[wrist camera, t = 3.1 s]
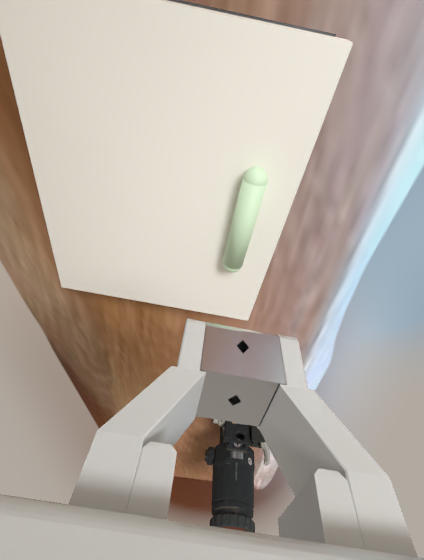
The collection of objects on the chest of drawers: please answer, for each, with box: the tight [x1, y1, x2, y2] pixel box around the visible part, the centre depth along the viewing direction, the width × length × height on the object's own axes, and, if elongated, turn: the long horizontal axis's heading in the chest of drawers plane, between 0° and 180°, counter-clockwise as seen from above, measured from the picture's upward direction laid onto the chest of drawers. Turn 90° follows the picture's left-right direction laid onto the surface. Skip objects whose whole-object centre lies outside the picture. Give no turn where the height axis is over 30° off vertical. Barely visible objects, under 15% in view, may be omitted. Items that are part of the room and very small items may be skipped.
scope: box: [205, 419, 270, 533], centre depth 43 cm, size 8×14×10 cm
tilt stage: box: [0, 0, 353, 321], centre depth 23 cm, size 22×18×3 cm
